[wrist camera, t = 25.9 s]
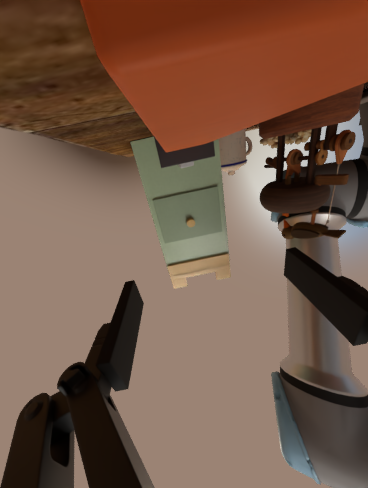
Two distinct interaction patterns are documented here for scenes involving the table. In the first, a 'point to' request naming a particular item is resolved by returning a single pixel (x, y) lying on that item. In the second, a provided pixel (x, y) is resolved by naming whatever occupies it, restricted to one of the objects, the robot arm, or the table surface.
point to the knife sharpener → (225, 62)
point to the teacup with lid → (234, 151)
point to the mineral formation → (288, 138)
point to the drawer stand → (186, 212)
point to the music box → (309, 161)
